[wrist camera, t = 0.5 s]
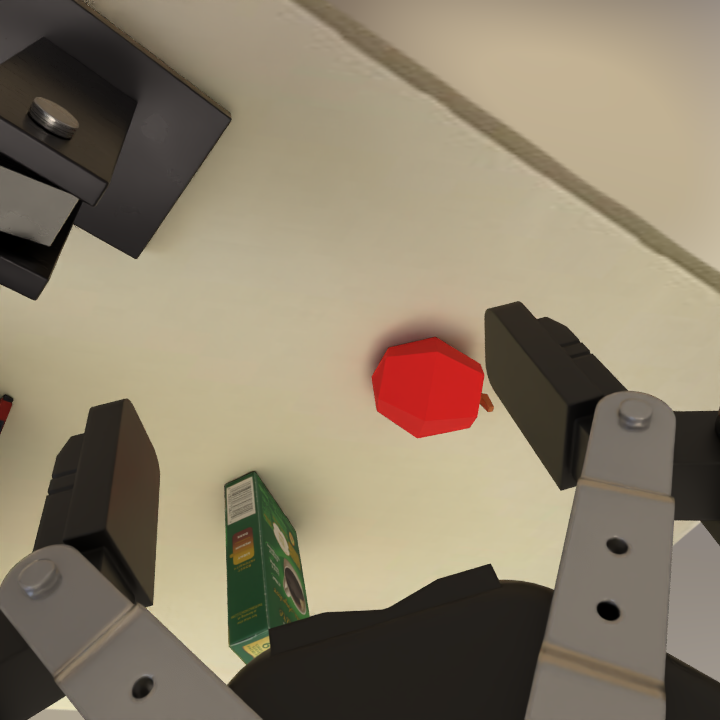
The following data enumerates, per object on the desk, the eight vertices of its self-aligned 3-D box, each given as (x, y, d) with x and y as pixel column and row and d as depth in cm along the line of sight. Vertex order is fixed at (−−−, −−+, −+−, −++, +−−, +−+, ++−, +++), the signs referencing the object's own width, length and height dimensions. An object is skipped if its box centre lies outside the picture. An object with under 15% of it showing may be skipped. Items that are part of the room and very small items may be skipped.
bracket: (-110, 108, 27) (-294, 212, 17) (-24, -80, 24) (-183, -91, 14) (138, 250, 33) (112, 389, 23) (231, 113, 30) (248, 202, 20)
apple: (356, 450, 38) (483, 475, 38) (374, 349, 35) (510, 375, 35) (368, 404, 44) (476, 425, 44) (383, 316, 42) (499, 337, 41)
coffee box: (218, 481, 44) (225, 651, 34) (254, 466, 44) (273, 631, 34) (264, 543, 49) (283, 709, 38) (297, 529, 49) (325, 691, 38)
